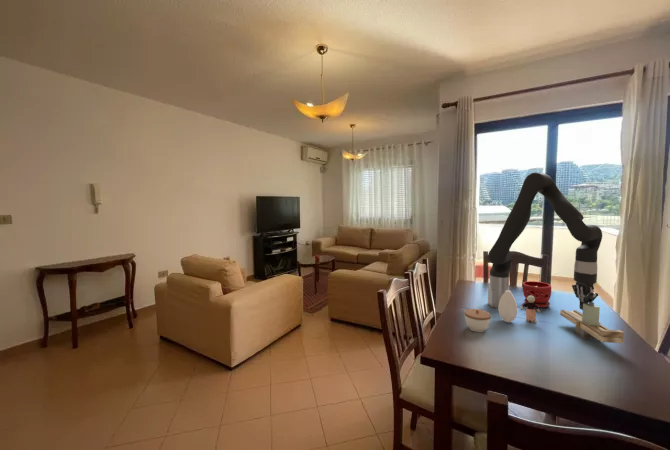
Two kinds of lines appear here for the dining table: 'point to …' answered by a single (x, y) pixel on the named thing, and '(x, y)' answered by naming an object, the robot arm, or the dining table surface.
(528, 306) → the grandmother figurine
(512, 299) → the white teardrop vase
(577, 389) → the dining table surface
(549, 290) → the plant pot
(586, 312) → the block
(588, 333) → the beam
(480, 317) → the lidded jar
